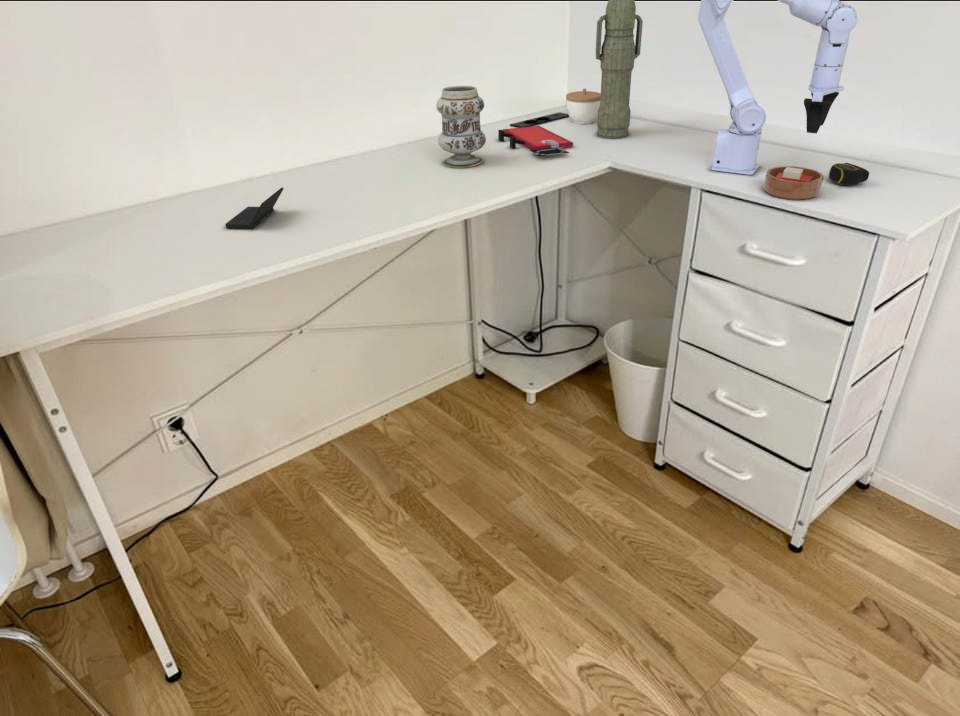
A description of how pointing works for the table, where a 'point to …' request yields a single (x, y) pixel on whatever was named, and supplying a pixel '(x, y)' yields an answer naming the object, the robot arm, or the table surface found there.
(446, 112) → the apothecary jar
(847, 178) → the tape measure
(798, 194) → the bowl
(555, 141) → the red board with handle
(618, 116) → the green vase
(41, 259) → the table surface
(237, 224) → the handheld gaming console
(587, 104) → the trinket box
